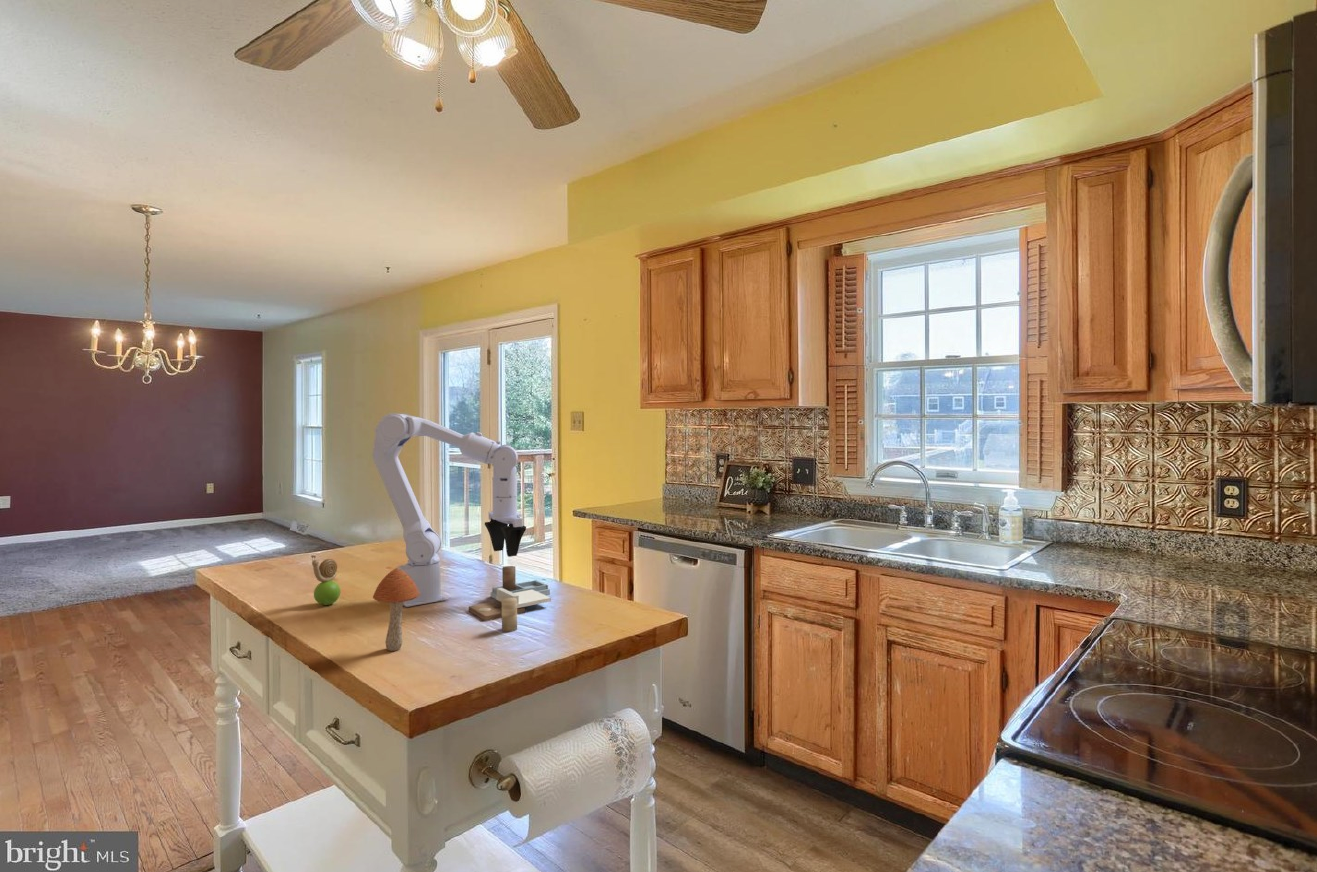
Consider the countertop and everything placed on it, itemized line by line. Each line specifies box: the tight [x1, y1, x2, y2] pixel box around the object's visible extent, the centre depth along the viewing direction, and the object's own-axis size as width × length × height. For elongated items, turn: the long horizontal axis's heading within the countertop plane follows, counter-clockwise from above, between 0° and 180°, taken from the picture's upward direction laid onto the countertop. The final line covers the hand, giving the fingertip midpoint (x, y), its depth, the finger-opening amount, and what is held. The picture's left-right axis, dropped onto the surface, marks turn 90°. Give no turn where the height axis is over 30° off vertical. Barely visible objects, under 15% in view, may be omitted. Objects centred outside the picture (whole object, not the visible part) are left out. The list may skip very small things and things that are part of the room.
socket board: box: [490, 579, 551, 600], centre depth 154 cm, size 12×7×2 cm, turn 129°
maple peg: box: [501, 598, 518, 633], centre depth 130 cm, size 3×3×6 cm
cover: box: [495, 588, 552, 608], centre depth 145 cm, size 9×9×3 cm
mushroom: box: [372, 567, 419, 652], centre depth 119 cm, size 8×8×15 cm
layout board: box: [468, 600, 526, 622], centre depth 141 cm, size 9×9×1 cm
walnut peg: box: [501, 565, 517, 591], centre depth 152 cm, size 3×3×6 cm
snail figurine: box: [311, 554, 342, 606], centre depth 147 cm, size 5×6×12 cm
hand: (505, 553), depth 153 cm, fingers open, 7 cm apart
